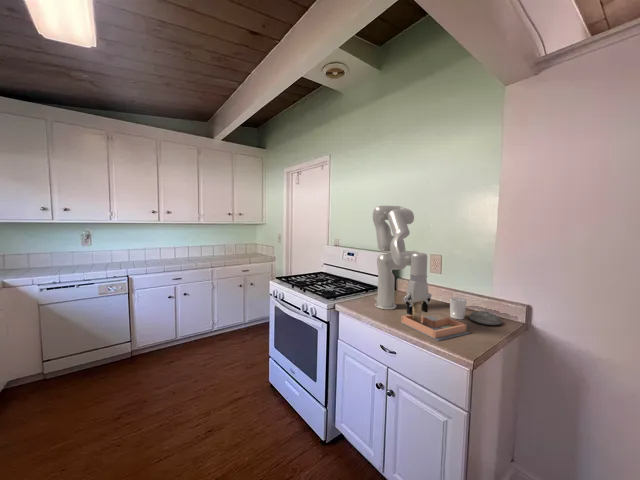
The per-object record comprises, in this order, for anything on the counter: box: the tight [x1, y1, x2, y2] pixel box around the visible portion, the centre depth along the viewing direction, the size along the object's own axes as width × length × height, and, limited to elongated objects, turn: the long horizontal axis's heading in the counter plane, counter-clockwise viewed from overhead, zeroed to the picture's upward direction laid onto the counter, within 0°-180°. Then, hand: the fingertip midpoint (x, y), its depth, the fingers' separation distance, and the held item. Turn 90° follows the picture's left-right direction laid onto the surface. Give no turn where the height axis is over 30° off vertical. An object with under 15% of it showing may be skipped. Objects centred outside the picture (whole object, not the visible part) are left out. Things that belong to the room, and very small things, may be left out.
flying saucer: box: [468, 310, 503, 326], centre depth 144 cm, size 15×15×6 cm
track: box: [400, 314, 470, 342], centre depth 134 cm, size 23×20×4 cm
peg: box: [412, 302, 423, 324], centre depth 137 cm, size 4×4×12 cm
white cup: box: [449, 296, 467, 320], centre depth 149 cm, size 8×8×10 cm
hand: (417, 312), depth 137 cm, fingers open, 9 cm apart
